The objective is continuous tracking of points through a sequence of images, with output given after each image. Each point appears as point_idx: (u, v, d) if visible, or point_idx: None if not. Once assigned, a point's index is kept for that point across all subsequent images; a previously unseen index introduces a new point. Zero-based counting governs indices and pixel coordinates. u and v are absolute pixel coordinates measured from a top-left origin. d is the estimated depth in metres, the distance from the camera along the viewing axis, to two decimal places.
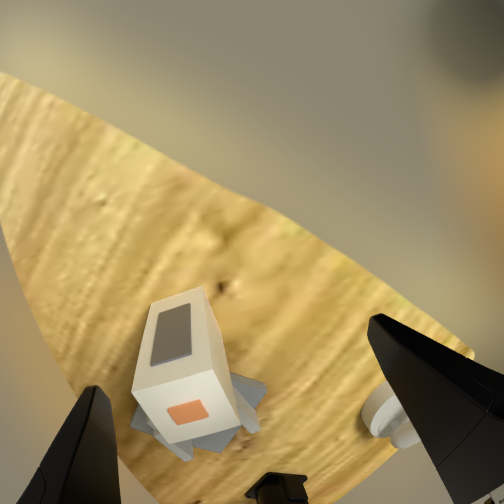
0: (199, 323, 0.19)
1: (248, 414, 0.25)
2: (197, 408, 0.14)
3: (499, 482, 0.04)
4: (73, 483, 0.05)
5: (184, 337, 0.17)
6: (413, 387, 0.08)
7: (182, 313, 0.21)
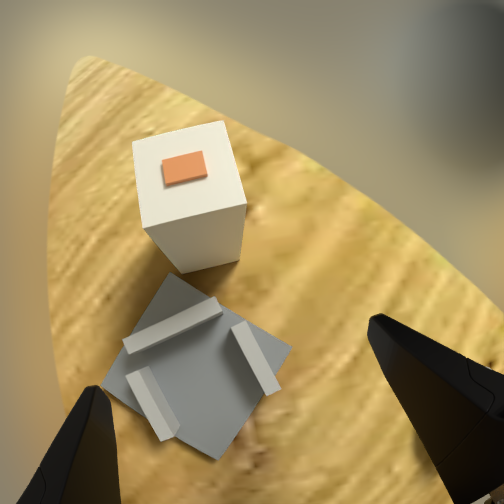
0: None
1: (264, 357, 0.19)
2: (196, 158, 0.13)
3: (499, 482, 0.04)
4: (73, 484, 0.05)
5: None
6: (413, 387, 0.08)
7: None
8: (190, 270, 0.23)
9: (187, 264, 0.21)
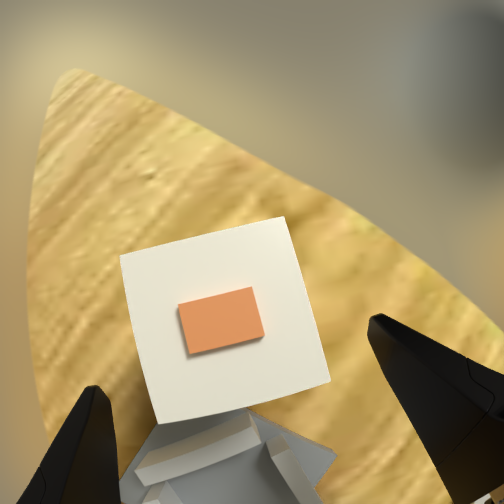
0: None
1: (309, 481, 0.13)
2: (243, 303, 0.07)
3: (499, 482, 0.04)
4: (73, 483, 0.05)
5: None
6: (413, 387, 0.08)
7: None
8: None
9: None
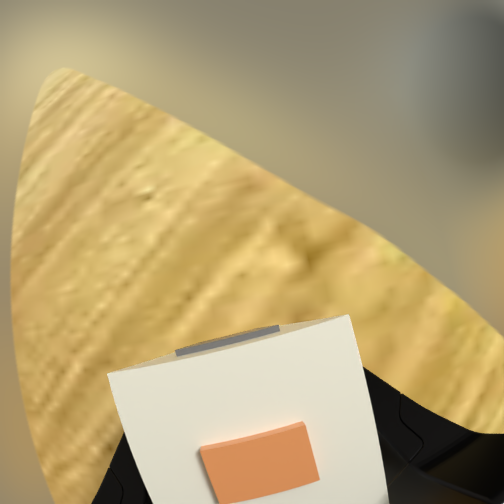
0: (281, 326, 0.10)
1: None
2: (293, 447, 0.05)
3: None
4: None
5: (257, 329, 0.09)
6: None
7: (245, 331, 0.12)
8: None
9: None
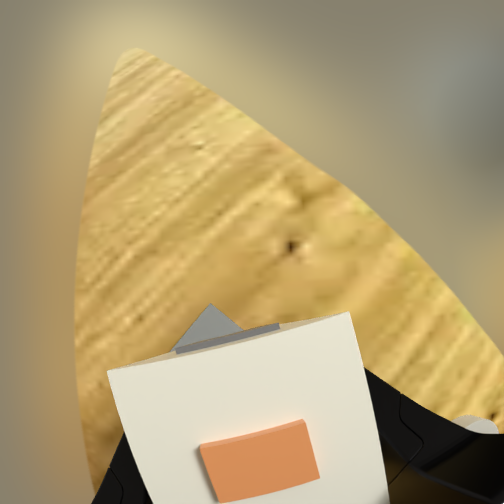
0: (281, 325, 0.10)
1: None
2: (293, 445, 0.04)
3: None
4: None
5: (257, 327, 0.09)
6: None
7: (245, 330, 0.12)
8: None
9: None
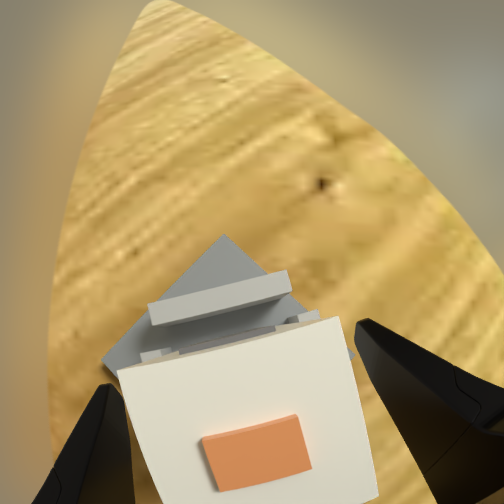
0: (278, 326, 0.11)
1: None
2: (287, 438, 0.05)
3: (485, 493, 0.04)
4: (88, 484, 0.05)
5: (255, 329, 0.09)
6: (399, 394, 0.07)
7: (244, 331, 0.12)
8: None
9: None
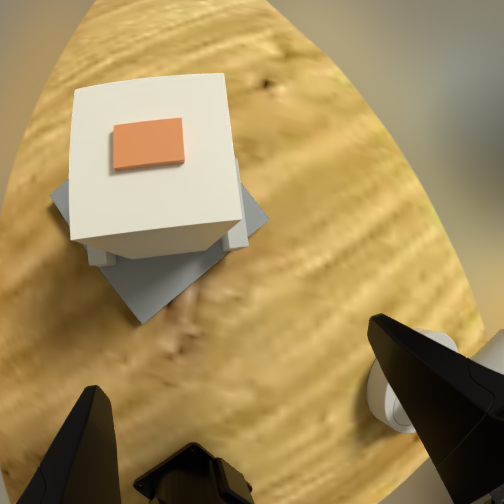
0: None
1: None
2: (171, 130, 0.07)
3: (499, 482, 0.04)
4: (73, 484, 0.05)
5: None
6: (413, 387, 0.08)
7: None
8: (143, 257, 0.17)
9: (139, 255, 0.15)
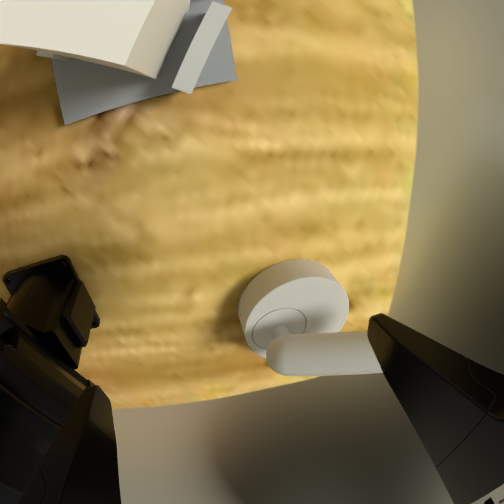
0: None
1: (209, 52, 0.13)
2: None
3: (499, 482, 0.04)
4: (72, 483, 0.05)
5: None
6: (413, 387, 0.08)
7: None
8: (93, 62, 0.13)
9: None
